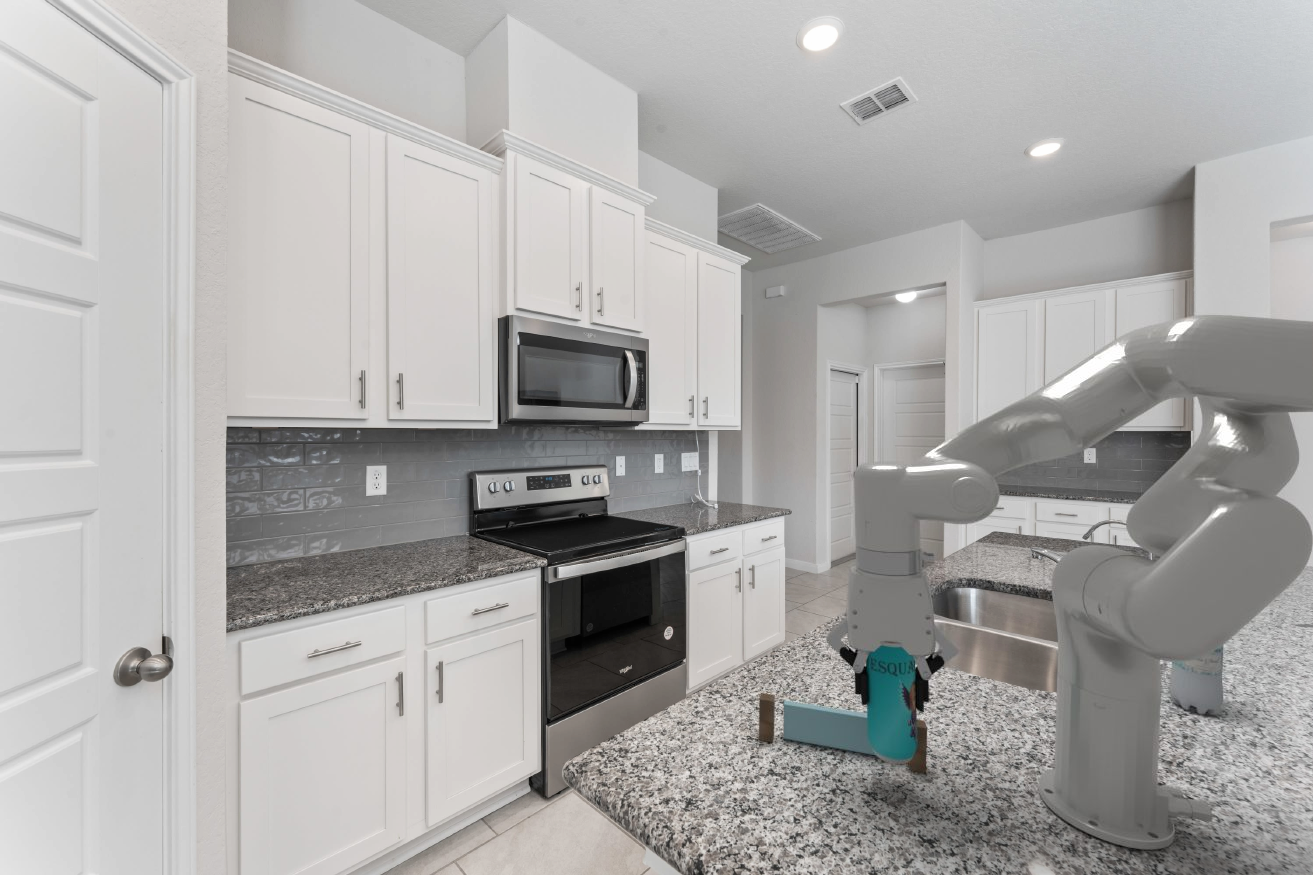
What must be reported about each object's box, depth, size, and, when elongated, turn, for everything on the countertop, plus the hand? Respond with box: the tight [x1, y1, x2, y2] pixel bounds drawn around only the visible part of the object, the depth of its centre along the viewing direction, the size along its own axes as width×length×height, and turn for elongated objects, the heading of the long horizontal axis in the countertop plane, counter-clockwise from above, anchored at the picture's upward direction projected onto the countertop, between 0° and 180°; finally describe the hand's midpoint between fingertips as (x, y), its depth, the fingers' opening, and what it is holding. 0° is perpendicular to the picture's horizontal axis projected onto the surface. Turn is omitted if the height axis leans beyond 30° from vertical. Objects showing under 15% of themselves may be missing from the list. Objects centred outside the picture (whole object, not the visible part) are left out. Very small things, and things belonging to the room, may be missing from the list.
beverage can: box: [865, 642, 918, 765], centre depth 69 cm, size 6×6×15 cm
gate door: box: [782, 699, 877, 756], centre depth 77 cm, size 16×1×5 cm, turn 72°
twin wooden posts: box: [758, 692, 928, 774], centre depth 77 cm, size 22×2×6 cm, turn 72°
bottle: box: [1168, 645, 1224, 716], centre depth 90 cm, size 7×7×20 cm
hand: (891, 701), depth 69 cm, fingers closed on beverage can, 5 cm apart
